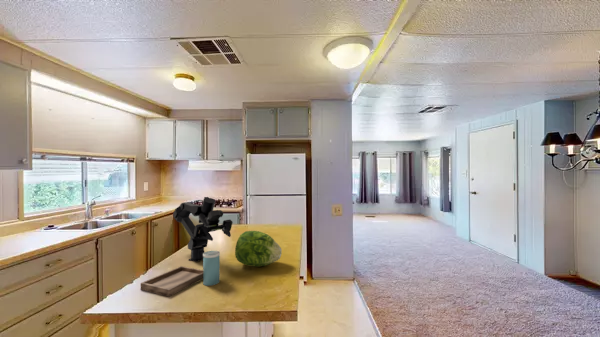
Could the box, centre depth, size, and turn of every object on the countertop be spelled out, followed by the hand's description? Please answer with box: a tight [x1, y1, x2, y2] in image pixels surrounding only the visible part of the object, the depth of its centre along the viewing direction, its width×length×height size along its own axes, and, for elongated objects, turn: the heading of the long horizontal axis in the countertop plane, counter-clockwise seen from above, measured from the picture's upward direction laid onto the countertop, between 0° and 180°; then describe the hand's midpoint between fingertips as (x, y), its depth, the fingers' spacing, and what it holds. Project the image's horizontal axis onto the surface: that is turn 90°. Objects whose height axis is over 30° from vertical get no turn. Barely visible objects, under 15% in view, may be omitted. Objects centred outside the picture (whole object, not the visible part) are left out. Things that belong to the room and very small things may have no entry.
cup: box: [202, 250, 221, 287], centre depth 108 cm, size 7×7×12 cm
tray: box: [140, 265, 203, 298], centre depth 108 cm, size 16×20×2 cm
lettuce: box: [234, 230, 282, 267], centre depth 128 cm, size 17×23×17 cm
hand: (221, 237), depth 119 cm, fingers open, 9 cm apart
